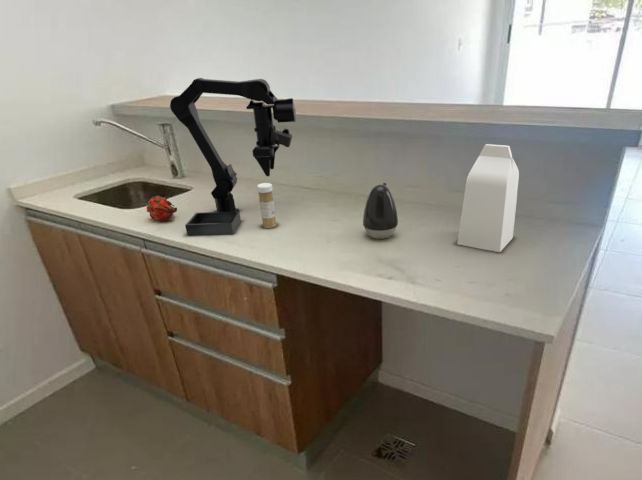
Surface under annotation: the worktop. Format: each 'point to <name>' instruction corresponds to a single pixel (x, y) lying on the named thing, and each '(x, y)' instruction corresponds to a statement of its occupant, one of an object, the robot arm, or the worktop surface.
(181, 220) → the worktop surface
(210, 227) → the rectangular frame
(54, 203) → the worktop surface
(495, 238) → the milk
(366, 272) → the worktop surface
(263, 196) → the sprinkles bottle
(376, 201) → the black egg-shaped piece
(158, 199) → the dragon fruit
